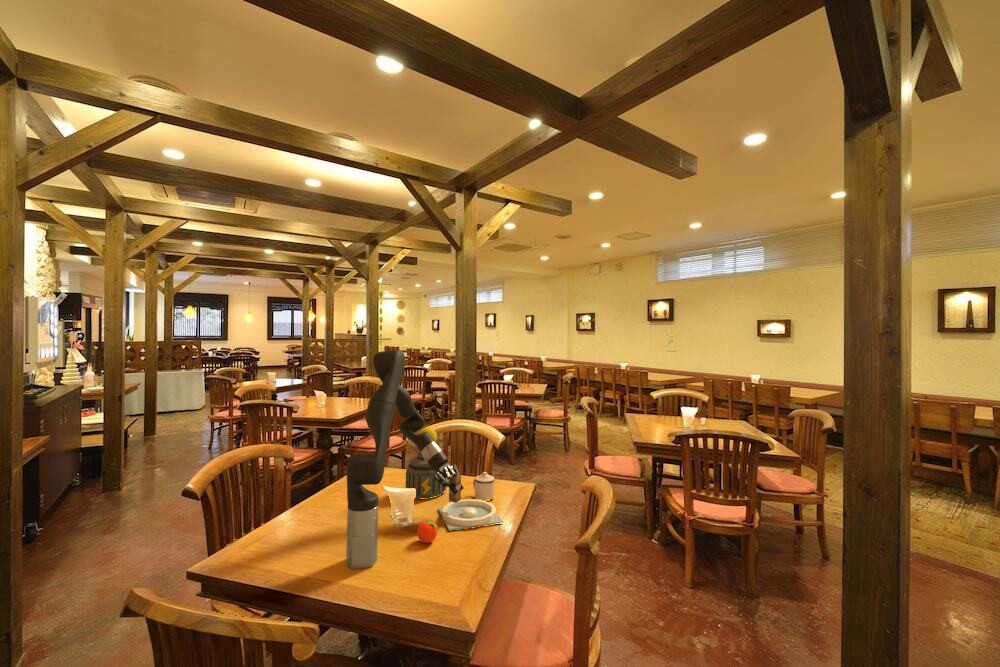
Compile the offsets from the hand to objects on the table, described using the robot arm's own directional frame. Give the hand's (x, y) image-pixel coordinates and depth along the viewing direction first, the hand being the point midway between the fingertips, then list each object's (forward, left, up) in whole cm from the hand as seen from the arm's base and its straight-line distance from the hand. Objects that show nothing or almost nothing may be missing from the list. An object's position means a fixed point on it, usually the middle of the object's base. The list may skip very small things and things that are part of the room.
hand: (459, 491), depth 158 cm
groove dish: (+1, -5, -11) cm, 12 cm away
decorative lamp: (+33, +7, -11) cm, 36 cm away
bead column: (+1, +1, -4) cm, 5 cm away
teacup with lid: (+19, -16, -11) cm, 27 cm away
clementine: (-15, +14, -11) cm, 24 cm away
